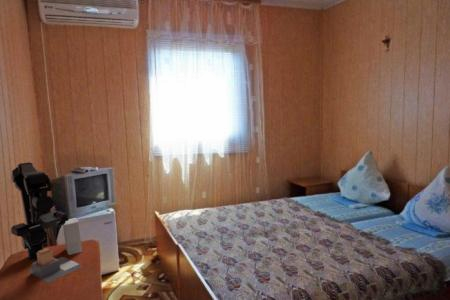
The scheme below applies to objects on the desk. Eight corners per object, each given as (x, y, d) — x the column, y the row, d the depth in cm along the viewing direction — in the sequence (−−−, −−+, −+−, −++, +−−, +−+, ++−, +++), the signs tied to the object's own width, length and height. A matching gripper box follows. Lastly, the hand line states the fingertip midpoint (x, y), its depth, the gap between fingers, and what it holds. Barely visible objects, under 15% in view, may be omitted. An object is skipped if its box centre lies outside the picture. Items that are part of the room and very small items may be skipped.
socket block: (27, 273, 122) (26, 261, 121) (63, 258, 133) (61, 247, 133) (47, 285, 113) (46, 272, 112) (83, 268, 124) (82, 256, 124)
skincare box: (82, 253, 137) (79, 221, 136) (67, 257, 134) (64, 225, 132) (79, 247, 144) (76, 216, 142) (65, 250, 141) (62, 219, 139)
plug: (38, 272, 121) (36, 251, 119) (49, 267, 124) (47, 247, 123) (43, 275, 118) (41, 253, 117) (54, 270, 122) (52, 249, 120)
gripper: (21, 216, 105) (26, 259, 108) (74, 202, 121) (78, 240, 123) (7, 211, 112) (13, 251, 114) (59, 198, 127) (63, 234, 129)
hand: (43, 244), depth 120 cm, fingers open, 9 cm apart
